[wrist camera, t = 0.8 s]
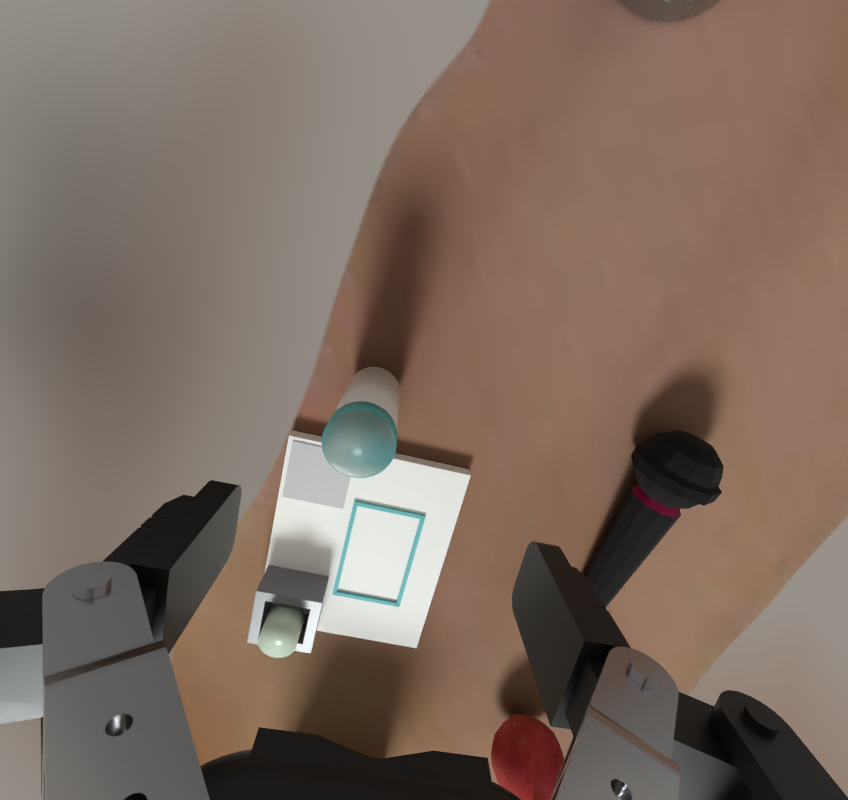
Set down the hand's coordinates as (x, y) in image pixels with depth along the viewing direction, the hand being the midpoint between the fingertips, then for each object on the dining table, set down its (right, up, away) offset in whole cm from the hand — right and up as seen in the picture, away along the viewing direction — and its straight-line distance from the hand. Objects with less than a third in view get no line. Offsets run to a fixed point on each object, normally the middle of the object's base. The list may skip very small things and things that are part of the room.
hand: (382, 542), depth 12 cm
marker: (-2, +5, +18) cm, 19 cm away
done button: (-9, -12, +20) cm, 25 cm away
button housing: (-9, -11, +22) cm, 26 cm away
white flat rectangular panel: (-4, -7, +22) cm, 23 cm away
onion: (+10, -25, +28) cm, 38 cm away
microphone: (+15, -6, +23) cm, 28 cm away
